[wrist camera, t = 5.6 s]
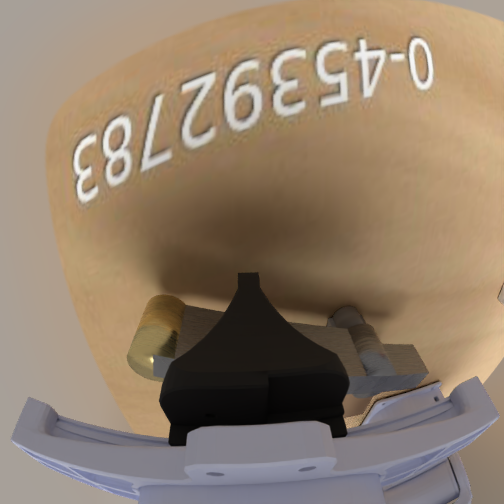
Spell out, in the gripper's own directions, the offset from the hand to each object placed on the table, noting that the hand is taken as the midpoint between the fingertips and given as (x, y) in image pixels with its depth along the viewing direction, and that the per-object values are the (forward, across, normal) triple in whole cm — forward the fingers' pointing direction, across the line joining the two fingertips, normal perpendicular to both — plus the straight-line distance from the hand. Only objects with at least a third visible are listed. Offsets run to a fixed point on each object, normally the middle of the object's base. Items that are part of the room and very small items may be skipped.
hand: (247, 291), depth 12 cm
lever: (0, -2, +4) cm, 4 cm away
